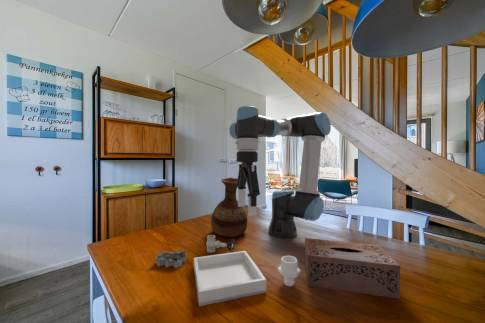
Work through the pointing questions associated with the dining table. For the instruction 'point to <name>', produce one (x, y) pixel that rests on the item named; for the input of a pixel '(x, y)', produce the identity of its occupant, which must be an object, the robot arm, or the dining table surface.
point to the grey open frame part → (166, 258)
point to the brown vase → (229, 212)
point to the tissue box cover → (351, 267)
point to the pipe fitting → (289, 269)
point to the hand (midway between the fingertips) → (246, 210)
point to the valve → (218, 244)
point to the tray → (227, 277)
